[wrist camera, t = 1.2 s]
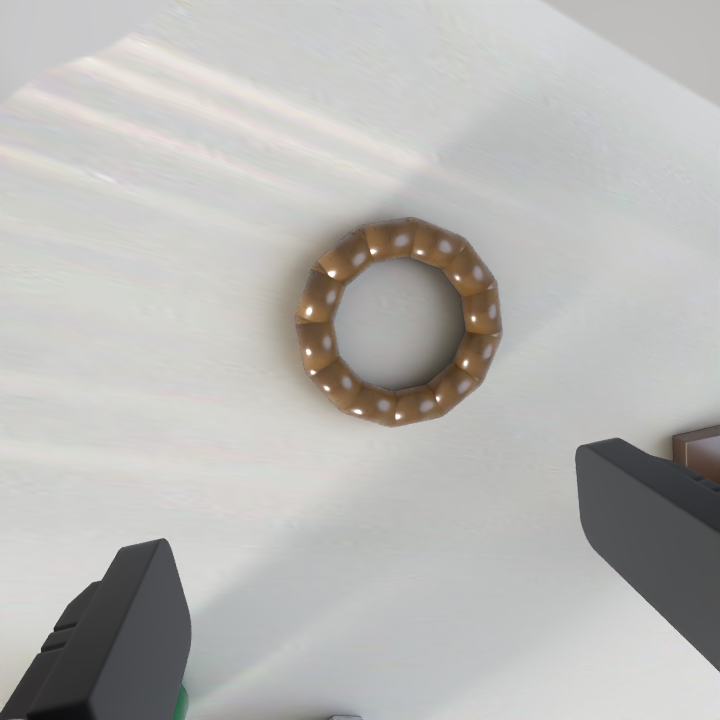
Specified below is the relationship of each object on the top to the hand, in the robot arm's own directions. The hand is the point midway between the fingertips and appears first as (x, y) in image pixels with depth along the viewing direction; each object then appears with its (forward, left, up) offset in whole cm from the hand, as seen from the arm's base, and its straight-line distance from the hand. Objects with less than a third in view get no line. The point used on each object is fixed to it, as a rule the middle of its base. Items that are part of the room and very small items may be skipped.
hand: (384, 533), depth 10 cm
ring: (-1, +4, -19) cm, 19 cm away
